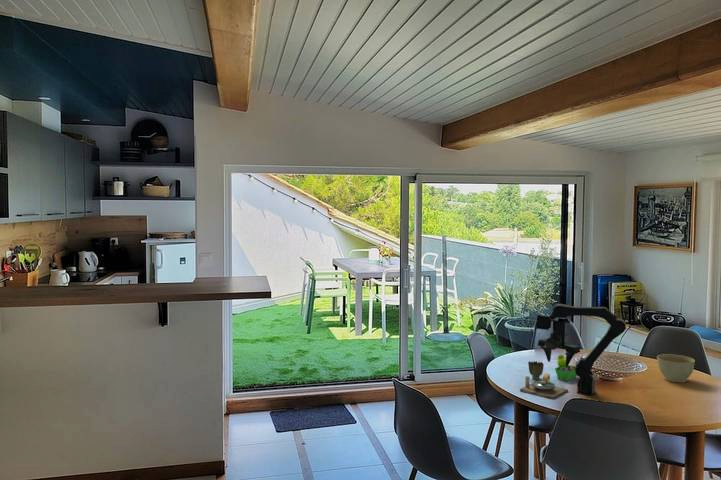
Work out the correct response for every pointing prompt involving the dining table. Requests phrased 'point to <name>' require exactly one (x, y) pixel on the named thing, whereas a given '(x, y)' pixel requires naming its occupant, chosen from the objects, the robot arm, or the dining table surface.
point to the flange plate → (544, 386)
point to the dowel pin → (527, 381)
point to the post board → (544, 391)
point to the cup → (535, 369)
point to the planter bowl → (675, 367)
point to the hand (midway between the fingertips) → (557, 364)
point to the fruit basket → (565, 369)
